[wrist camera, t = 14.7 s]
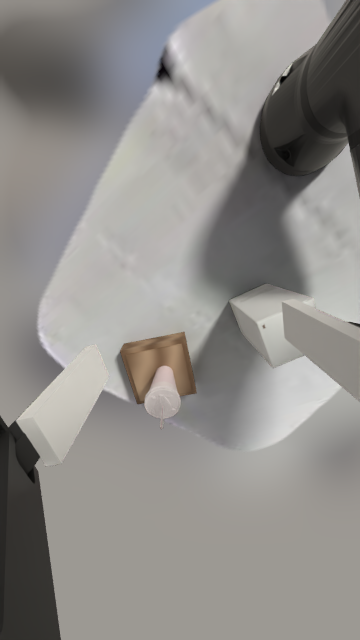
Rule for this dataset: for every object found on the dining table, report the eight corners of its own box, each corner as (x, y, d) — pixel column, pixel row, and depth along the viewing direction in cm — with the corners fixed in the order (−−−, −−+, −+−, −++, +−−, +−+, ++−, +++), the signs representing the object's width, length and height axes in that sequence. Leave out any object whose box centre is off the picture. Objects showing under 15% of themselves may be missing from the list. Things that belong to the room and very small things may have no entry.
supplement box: (241, 334, 46) (271, 370, 32) (227, 299, 44) (254, 322, 29) (279, 318, 45) (327, 348, 31) (268, 281, 43) (315, 296, 29)
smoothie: (151, 386, 45) (142, 442, 32) (148, 361, 43) (137, 409, 30) (180, 384, 45) (183, 439, 32) (178, 359, 43) (180, 406, 30)
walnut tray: (184, 331, 46) (185, 339, 42) (195, 383, 50) (196, 394, 46) (123, 343, 46) (119, 352, 42) (139, 394, 51) (137, 405, 47)
